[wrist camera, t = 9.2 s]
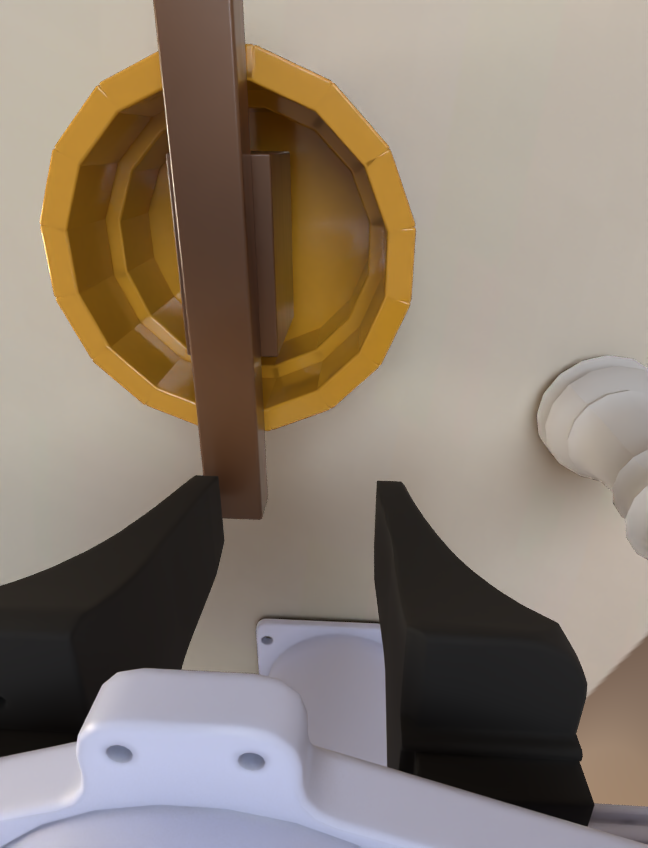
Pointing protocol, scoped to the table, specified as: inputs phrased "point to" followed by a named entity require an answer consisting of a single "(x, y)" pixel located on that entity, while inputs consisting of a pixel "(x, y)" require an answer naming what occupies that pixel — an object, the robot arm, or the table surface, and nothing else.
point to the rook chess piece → (604, 433)
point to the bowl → (156, 251)
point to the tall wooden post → (225, 239)
